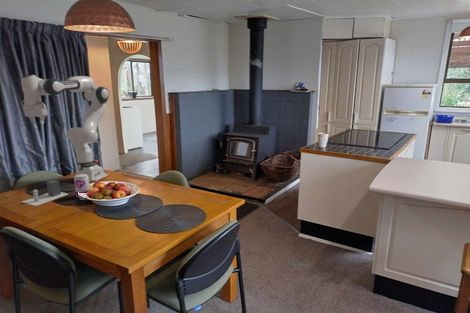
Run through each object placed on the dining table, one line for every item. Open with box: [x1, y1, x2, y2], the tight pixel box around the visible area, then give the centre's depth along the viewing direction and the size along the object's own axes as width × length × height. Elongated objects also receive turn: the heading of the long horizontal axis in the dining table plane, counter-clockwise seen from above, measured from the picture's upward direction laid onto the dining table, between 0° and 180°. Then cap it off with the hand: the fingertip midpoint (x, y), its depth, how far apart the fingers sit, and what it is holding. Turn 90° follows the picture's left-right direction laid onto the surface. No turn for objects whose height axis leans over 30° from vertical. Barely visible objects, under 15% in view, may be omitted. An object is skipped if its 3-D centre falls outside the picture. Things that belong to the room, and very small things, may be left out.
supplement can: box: [73, 173, 91, 201], centre depth 208 cm, size 8×8×15 cm
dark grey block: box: [46, 179, 62, 197], centre depth 210 cm, size 5×5×9 cm
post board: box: [22, 189, 69, 207], centre depth 205 cm, size 22×14×8 cm, turn 154°
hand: (38, 123), depth 208 cm, fingers open, 8 cm apart
